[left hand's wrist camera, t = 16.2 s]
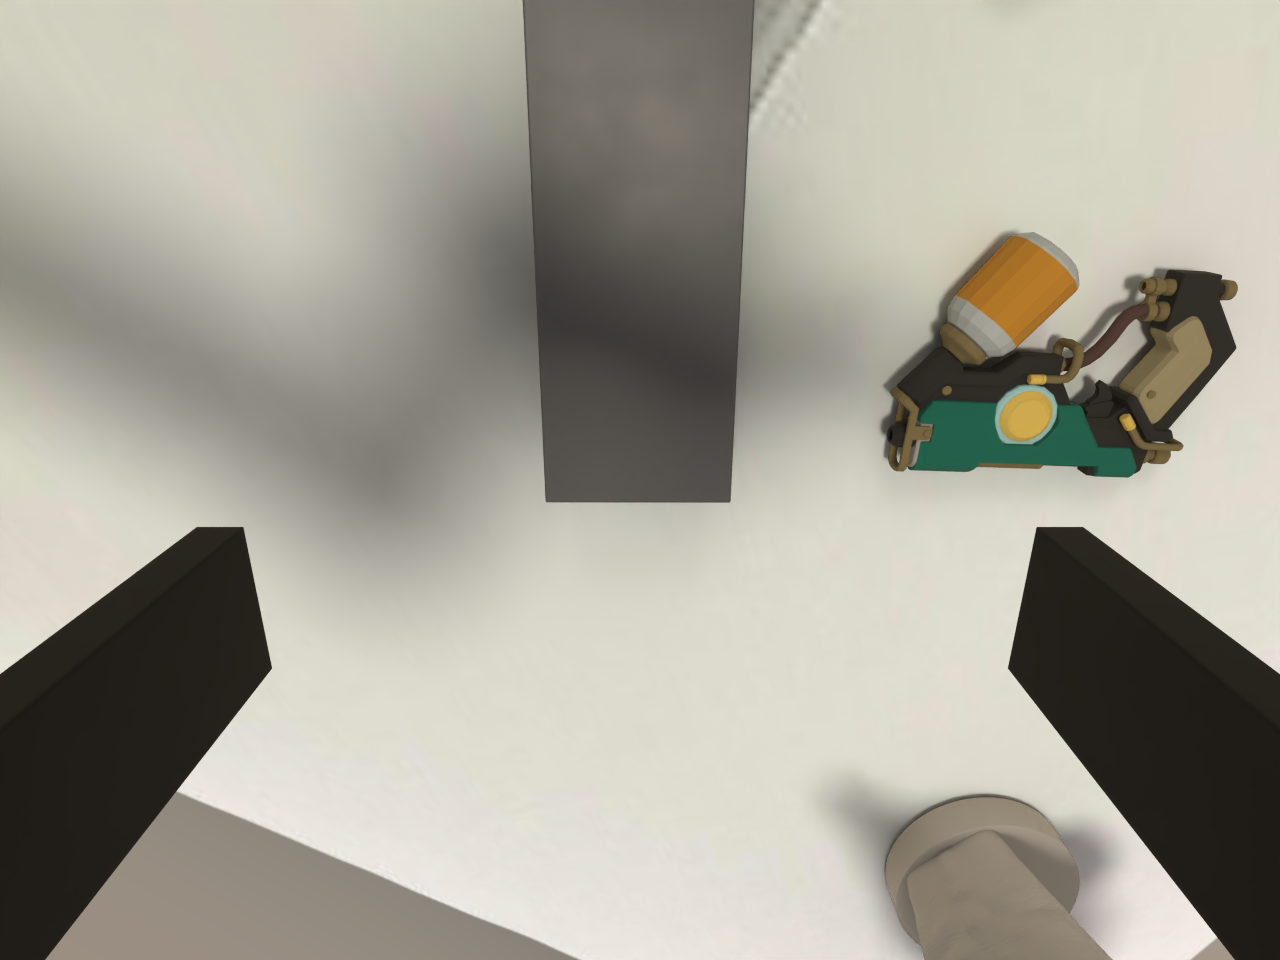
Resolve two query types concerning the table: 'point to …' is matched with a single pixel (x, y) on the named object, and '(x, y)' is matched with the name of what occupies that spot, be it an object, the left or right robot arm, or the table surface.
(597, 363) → the long gray bar
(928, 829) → the bust sculpture
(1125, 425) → the spray gun
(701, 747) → the table surface
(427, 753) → the table surface
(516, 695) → the table surface
